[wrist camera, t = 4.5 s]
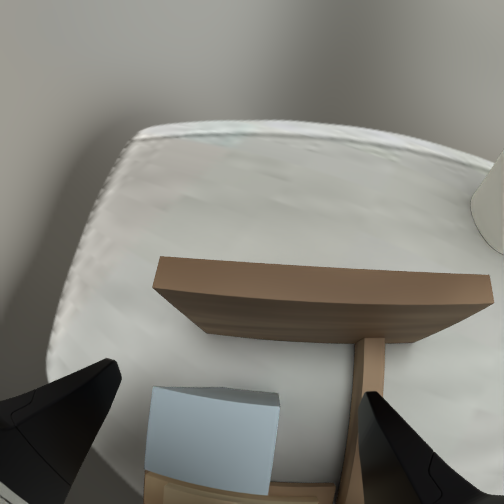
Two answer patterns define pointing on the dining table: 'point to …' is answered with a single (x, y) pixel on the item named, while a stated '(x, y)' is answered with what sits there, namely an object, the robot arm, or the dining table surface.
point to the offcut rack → (312, 338)
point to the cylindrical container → (491, 206)
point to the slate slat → (213, 437)
